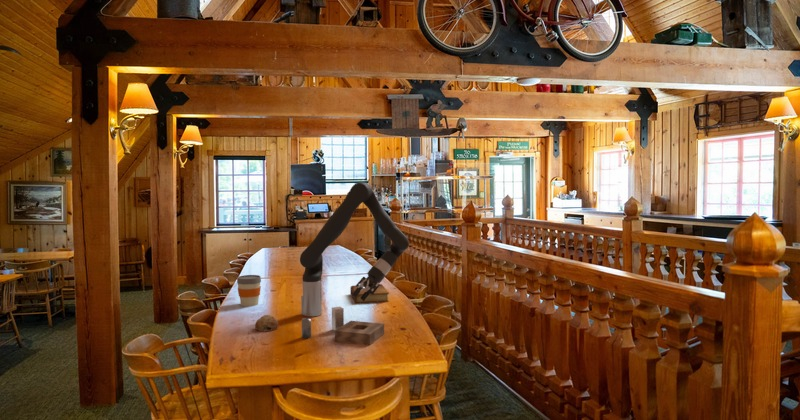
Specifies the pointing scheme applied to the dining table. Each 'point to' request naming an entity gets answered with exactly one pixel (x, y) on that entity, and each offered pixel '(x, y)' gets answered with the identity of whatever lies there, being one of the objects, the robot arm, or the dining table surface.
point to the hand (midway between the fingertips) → (357, 297)
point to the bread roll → (266, 323)
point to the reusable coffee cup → (249, 289)
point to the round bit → (306, 328)
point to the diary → (378, 295)
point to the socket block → (359, 332)
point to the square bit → (337, 317)
